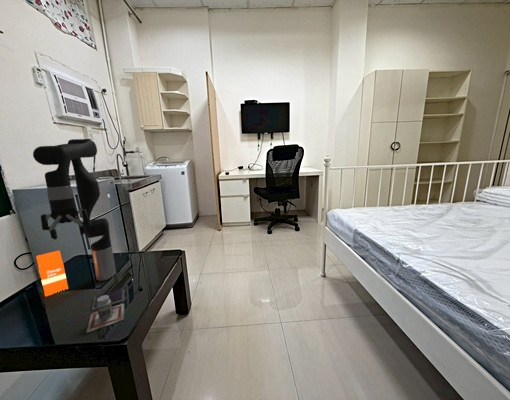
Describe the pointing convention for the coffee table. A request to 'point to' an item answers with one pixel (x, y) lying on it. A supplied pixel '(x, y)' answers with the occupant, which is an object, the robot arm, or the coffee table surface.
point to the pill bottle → (104, 307)
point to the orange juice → (52, 272)
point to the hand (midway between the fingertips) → (69, 236)
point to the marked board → (97, 323)
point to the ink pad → (111, 297)
